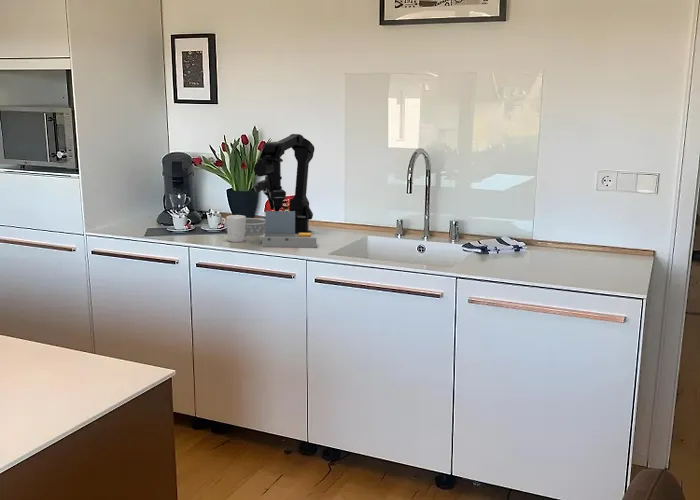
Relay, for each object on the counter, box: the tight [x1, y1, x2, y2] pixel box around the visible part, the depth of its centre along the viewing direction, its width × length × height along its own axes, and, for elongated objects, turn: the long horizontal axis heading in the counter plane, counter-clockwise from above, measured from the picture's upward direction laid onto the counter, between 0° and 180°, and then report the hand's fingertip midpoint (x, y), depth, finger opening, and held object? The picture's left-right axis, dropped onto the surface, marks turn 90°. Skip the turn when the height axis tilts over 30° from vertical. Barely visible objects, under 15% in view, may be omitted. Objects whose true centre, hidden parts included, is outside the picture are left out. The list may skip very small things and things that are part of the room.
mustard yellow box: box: [298, 232, 312, 237], centre depth 300 cm, size 4×5×4 cm
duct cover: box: [264, 210, 296, 235], centre depth 293 cm, size 9×12×1 cm
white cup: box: [225, 214, 247, 243], centre depth 298 cm, size 8×8×10 cm
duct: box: [261, 233, 317, 249], centre depth 291 cm, size 8×22×4 cm, turn 93°
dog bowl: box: [245, 217, 265, 237], centre depth 318 cm, size 17×18×5 cm
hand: (274, 211), depth 298 cm, fingers open, 9 cm apart
